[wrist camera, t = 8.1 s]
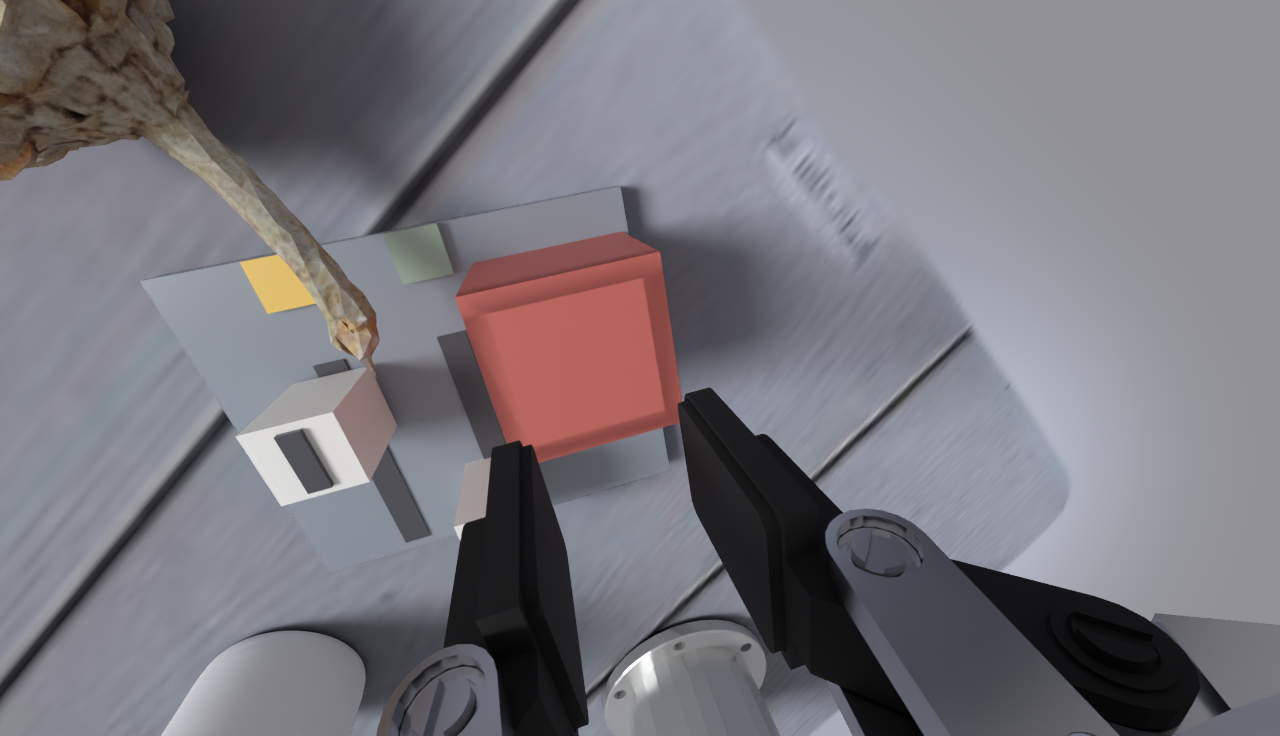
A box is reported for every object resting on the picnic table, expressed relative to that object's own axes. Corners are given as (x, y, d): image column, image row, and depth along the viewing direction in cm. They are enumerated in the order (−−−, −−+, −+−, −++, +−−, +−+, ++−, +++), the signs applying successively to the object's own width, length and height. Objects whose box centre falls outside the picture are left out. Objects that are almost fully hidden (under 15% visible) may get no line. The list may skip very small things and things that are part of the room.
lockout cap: (645, 362, 22) (685, 421, 17) (516, 396, 21) (516, 469, 16) (621, 231, 20) (660, 251, 14) (473, 262, 19) (455, 297, 13)
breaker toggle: (397, 425, 20) (368, 485, 16) (326, 443, 20) (278, 509, 16) (369, 365, 19) (330, 414, 15) (292, 384, 19) (231, 439, 15)
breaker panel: (664, 460, 26) (700, 528, 21) (336, 557, 23) (286, 663, 18) (615, 186, 20) (649, 188, 15) (159, 275, 17) (7, 317, 12)
